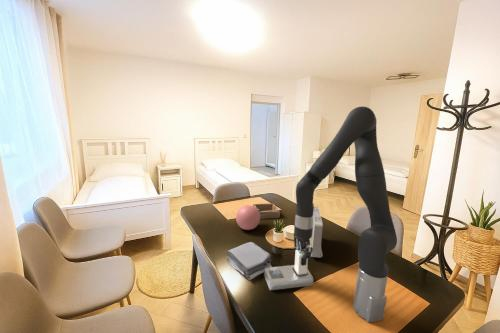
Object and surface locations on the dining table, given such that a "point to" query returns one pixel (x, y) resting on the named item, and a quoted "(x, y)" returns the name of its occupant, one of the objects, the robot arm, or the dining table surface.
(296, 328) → the dining table surface
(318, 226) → the network device
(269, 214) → the coaster tray
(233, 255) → the towel
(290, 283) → the patch panel
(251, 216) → the pink rubber ball
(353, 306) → the robot arm
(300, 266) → the plug
